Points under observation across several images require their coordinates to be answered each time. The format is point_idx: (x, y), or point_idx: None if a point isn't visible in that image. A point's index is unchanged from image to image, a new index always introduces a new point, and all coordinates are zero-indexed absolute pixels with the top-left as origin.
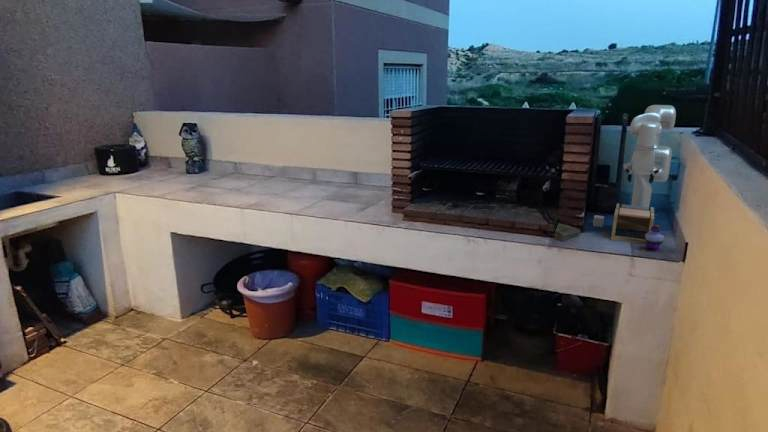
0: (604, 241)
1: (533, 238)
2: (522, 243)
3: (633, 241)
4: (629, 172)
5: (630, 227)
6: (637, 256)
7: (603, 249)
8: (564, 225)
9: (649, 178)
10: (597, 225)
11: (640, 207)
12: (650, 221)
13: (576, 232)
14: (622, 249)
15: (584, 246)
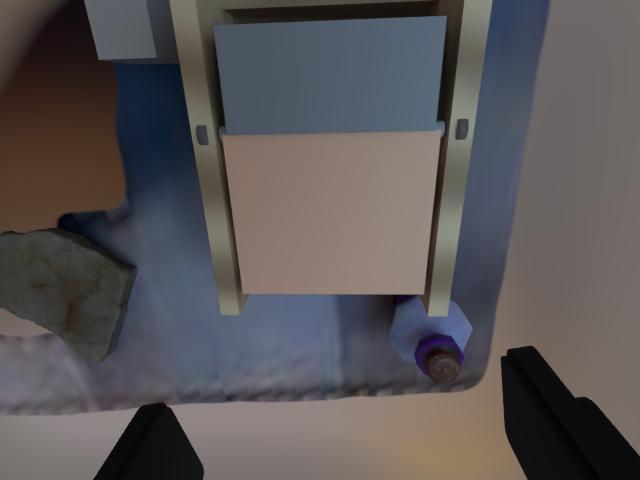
0: None
1: (24, 361)
2: (27, 413)
3: None
4: None
5: None
6: (361, 388)
7: (255, 370)
8: (39, 244)
9: (541, 425)
10: (152, 63)
11: (373, 75)
12: (423, 303)
13: (121, 299)
14: (312, 347)
15: (193, 368)
